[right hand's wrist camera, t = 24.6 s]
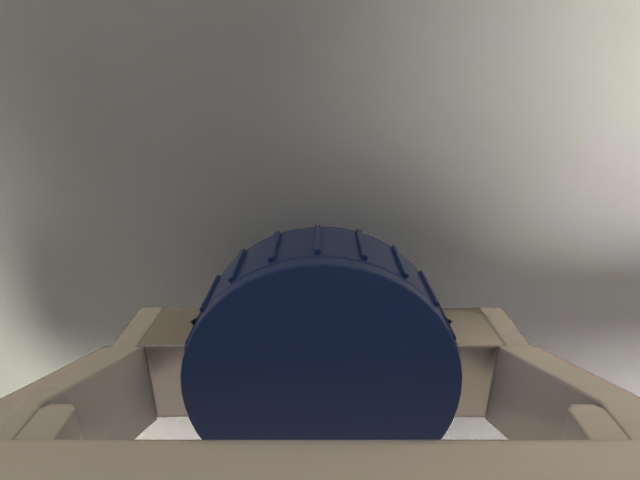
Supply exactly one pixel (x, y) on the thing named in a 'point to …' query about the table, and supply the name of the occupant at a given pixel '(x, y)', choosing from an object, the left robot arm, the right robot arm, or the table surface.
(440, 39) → the table surface
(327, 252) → the lid
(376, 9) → the table surface
